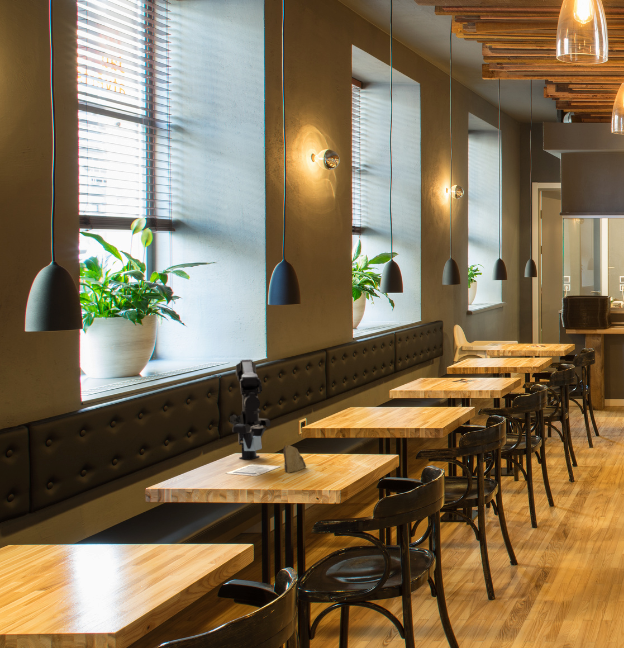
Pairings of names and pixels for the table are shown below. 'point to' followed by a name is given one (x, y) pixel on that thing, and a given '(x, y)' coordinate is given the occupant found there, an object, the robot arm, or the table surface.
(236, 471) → the letter
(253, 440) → the cube
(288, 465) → the rock
